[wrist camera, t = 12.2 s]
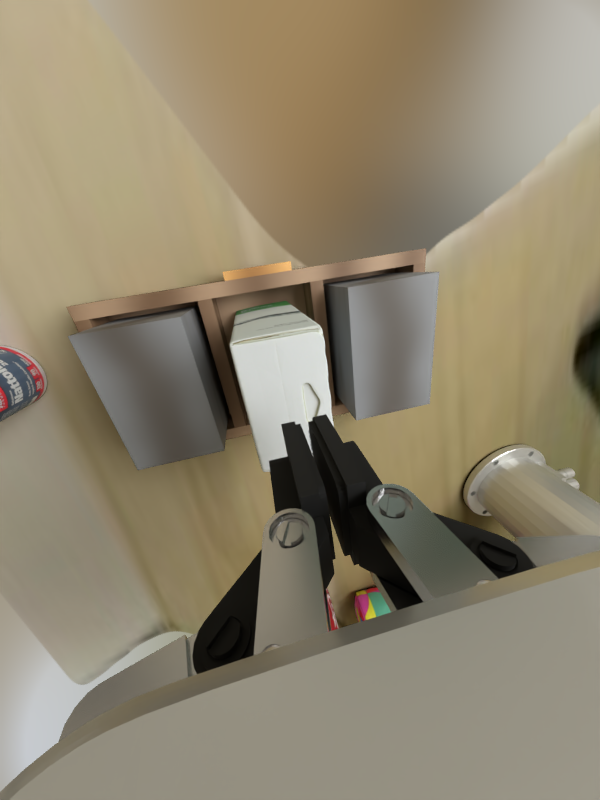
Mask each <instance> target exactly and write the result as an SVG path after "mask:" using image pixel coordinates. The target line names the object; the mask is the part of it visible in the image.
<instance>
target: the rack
mask: <svg viewBox="0 0 600 800" xmlns="http://www.w3.org/2000/svg"><path fill="white" fill-rule="evenodd" d="M425 260H426V248H425V249H418V250H412V251H405V252H399V253H392V254H387V255H380V256H374V257H368V258H361V259H355V260H350V261H344V262H337V263H331V264H325V265H318V266H312V267H306V268H300V269H294V270H292V269H291V262H290V261H289V262H283V263H277V264H270V265H264V266H258V267H251V268H245V269H239V270H233V271H226V272H223V276H224V280H225V281H220V282H214V283H208V284H202V285H195V286H189V287H183V288H177V289H171V290H165V291H159V292H152V293H146V294H140V295H134V296H128V297H122V298H116V299H109V300H103V301H97V302H91V303H86V304H80V305H74V306H69V307H67V309H68V311H69V313H70V315H71V317H72V319H73V321H74V323H75V325H76V327H77V329H78V331H79V333H76V334H73V335H70V336H68V338H69V339H70V341H71V343H72V345H73V347H74V349H75V351H76V353H77V355H78V357H79V359H80V360H81V362H82V364H83V366H84V368H85V370H86V372H87V374H88V376H89V378H90V380H91V382H92V383H93V385H94V387H95V389H96V391H97V393H98V395H99V397H100V399H101V401H102V403H103V404H104V406H105V408H106V410H107V412H108V414H109V416H110V418H111V420H112V422H113V424H114V426H115V427H116V429H117V431H118V433H119V435H120V437H121V439H122V441H123V443H124V445H125V447H126V448H127V450H128V452H129V454H130V456H131V458H132V460H133V462H134V464H135V466H136V468H137V470H141V469H145V468H150V467H154V466H158V465H163V464H167V463H172V462H176V461H180V460H185V459H189V458H193V457H198V456H202V455H207V454H211V453H215V452H220V451H224V450H225V441H226V440H227V439H232V438H236V437H241V436H245V435H250V434H252V431H251V427H250V423H249V419H248V416H247V412H246V408H245V404H244V401H243V397H242V393H241V389H240V386H239V382H238V378H237V374H236V371H235V367H234V363H233V358H232V354H231V350H230V341H231V336H232V331H233V326H234V320H235V315H236V311H239V310H243V309H246V308H250V307H255V306H259V305H264V304H270V303H275V302H281V301H287V302H288V303H289V304H291V305H292V306H294V307H295V308H296V309H298V310H299V311H300V312H302V313H303V314H305V315H306V316H307V317H309V318H310V319H312V320H313V321H314V322H316V323H317V324H319V325H320V327H321V328H322V331H323V337H324V340H325V354H326V359H327V366H328V383H329V389H330V395H331V410H332V416H334V415H339V414H343V413H348V412H350V413H351V414H352V416H353V417H354V418H355V419H356V420H360V419H364V418H369V417H373V416H378V415H382V414H386V413H391V412H395V411H400V410H404V409H408V408H413V407H417V406H421V405H426V404H430V390H431V377H432V363H433V349H434V336H435V322H436V309H437V295H438V282H439V272H425Z"/></svg>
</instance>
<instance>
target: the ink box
mask: <svg viewBox="0 0 600 800" xmlns="http://www.w3.org/2000/svg"><path fill="white" fill-rule="evenodd" d="M230 350H231V354H232V358H233V363H234V367H235V371H236V374H237V378H238V382H239V386H240V389H241V393H242V397H243V401H244V404H245V408H246V412H247V416H248V419H249V423H250V427H251V431H252V435H253V438H254V442H255V446H256V450H257V453H258V457H259V461H260V464H261V468H262V470H263V471H264V472H269V471H270V466H269V461H270V460H274V459H278V458H282V457H287V451H286V446H285V441H284V436H283V431H282V426H281V424H284V423H289V422H293V421H294V422H295V424H301V426H302V429H303V432H304V434H305V437H306V439H307V442H308V445H309V447H310V450H311V453H312V455H313V452H312V445H311V439H310V432H309V426H308V422H310V421H313V420H312V418H313V417H316V416H320V415H325V414H326V415H327V417H328V418H329V420H330V422H331V423H332V425H333V427H334V423H333V418H332V410H331V395H330V389H329V383H328V366H327V359H326V354H325V340H324V337H323V331H322V328H321V327H320V325H319V324H317V323H316V322H314V321H313V320H312V319H310V318H309V317H307V316H306V315H305V314H303V313H302V312H300V311H299V310H298V309H296V308H295V307H294V306H292V305H291V304H289V303H288V302H287V301H281V302H275V303H270V304H264V305H259V306H255V307H250V308H246V309H243V310H239V311H236V315H235V320H234V326H233V331H232V336H231V341H230Z"/></svg>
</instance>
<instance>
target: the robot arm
mask: <svg viewBox="0 0 600 800" xmlns="http://www.w3.org/2000/svg"><path fill="white" fill-rule="evenodd" d="M312 420H313V421H310V422H308V426H309V432H310V439H311V445H312V452H313V455H312V453H311V450H310V447H309V445H308V442H307V439H306V437H305V434H304V432H303V429H302V426H301V424H295V422H294V421H293V422H289V423H284V424H281V426H282V431H283V436H284V441H285V446H286V451H287V457H282V458H278V459H274V460H270V461H269V466H270V474H271V481H272V489H273V496H274V504H275V511H276V514H274V515H273V516H272V517H271V518H270V519H269V520H268V522H267V524H266V525H265V528H264V532H263V543H262V550H261V551H260V552H259V553H258V555H257V556H256V557H255V558H254V560H253V561H252V562H251V564H250V565H249V566H248V567H247V569H246V570H245V571H244V572H243V574H242V575H241V576H240V577H239V579H238V580H237V581H236V582H235V584H234V585H233V586H232V587H231V589H230V590H229V591H228V592H227V594H226V595H225V596H224V598H223V599H222V600H221V601H220V603H219V604H218V605H217V606H216V608H215V609H214V610H213V611H212V613H211V614H210V615H209V616H208V618H207V619H206V620H205V622H204V623H203V625H202V626H201V628H200V630H199V631H198V633H196V634H194V635H192V636H191V637H189V638H187V637H186V636H185V635H184V636H182V637H181V638H179V639H177V640H175V641H173V642H172V643H170V644H168V645H166V646H165V647H163V648H161V649H159V650H158V651H156V652H154V653H152V654H151V655H149V656H147V657H145V658H144V659H142V660H140V661H138V662H137V663H135V664H134V665H132V666H130V667H128V668H126V669H124V670H123V671H121V672H120V673H117V674H116V675H114V676H112V677H110V678H109V679H107V680H105V681H103V682H102V683H100V684H99V685H98V686H96V687H95V688H94V689H92V690H91V691H90V692H88V693H87V695H86V696H85V697H84V698H83V699H82V700H81V701H80V702H79V703H78V705H77V706H76V707H75V708H74V710H73V712H72V714H71V715H70V717H69V718H68V720H67V722H66V723H65V726H64V728H63V731H62V734H61V736H60V739H59V742H58V743H57V744H55V745H54V746H53V747H52V748H50V749H49V750H48V751H46V752H45V753H44V754H43V755H42V756H40V757H39V758H38V759H37V760H35V761H34V762H33V763H32V764H31V765H29V766H28V767H27V768H26V769H24V771H22V772H21V773H20V774H19V775H18V776H17V777H16V778H15V779H13V781H11V782H10V783H9V784H8V785H7V786H6V787H5V788H4V789H3V790H2V791H1V792H0V800H600V504H599V503H598V502H596V501H595V500H593V499H592V498H590V497H588V496H587V495H585V494H584V493H582V492H581V491H579V490H578V489H579V484H578V482H577V481H576V480H575V479H574V478H571V477H574V476H575V472H574V470H572V469H571V468H569V467H568V468H563V469H559V470H558V471H556V470H554V469H552V468H551V467H549V466H548V465H546V463H545V459H544V456H543V455H542V454H541V452H539V451H538V450H536V449H534V448H533V447H531V446H528V445H522V444H520V445H512V446H508V447H505V448H502V449H500V450H497V451H496V452H494V453H492V454H490V455H489V456H488V457H486V458H485V459H484V460H483V461H481V462H480V463H479V464H478V465H477V466H476V467H475V469H474V470H473V471H472V472H471V474H470V476H469V477H468V479H467V481H466V483H465V486H464V491H463V498H464V501H465V503H466V505H467V506H468V507H469V508H470V509H471V510H472V511H473V512H474V513H476V514H478V515H482V516H493V517H494V518H495V519H496V520H497V521H498V522H499V523H500V524H501V525H502V526H503V527H504V528H505V529H506V530H507V531H508V532H509V533H510V534H512V535H513V536H514V537H515V541H510V540H508V539H506V538H504V537H502V536H499V535H497V534H494V533H491V532H488V531H485V530H482V529H479V528H476V527H473V526H471V525H468V524H465V523H462V522H459V521H456V520H453V519H450V518H447V517H444V516H441V515H438V514H435V513H433V512H431V511H430V510H429V509H428V508H427V507H426V506H425V505H424V504H423V503H422V502H421V501H420V500H419V499H418V498H417V497H416V496H415V495H414V494H413V493H412V492H411V491H409V490H408V489H407V488H404V487H402V486H400V485H395V484H382V482H381V481H380V479H379V478H378V476H377V475H376V473H375V472H374V470H373V469H372V467H371V466H370V464H369V463H368V461H367V460H366V458H365V457H364V455H363V454H362V452H361V451H360V449H359V448H358V446H357V445H356V443H355V442H354V441H350V442H346V443H343V442H342V440H341V439H340V437H339V435H338V433H337V432H336V430H335V428H334V427H333V425H332V423H331V422H330V420H329V418H328V417H327V415H326V414H325V415H320V416H316V417H313V418H312ZM329 514H330V515H329ZM330 517H331V520H332V523H333V525H334V528H335V531H336V534H337V537H338V539H339V542H340V545H341V548H342V550H343V553H344V555H345V556H347V555H350V556H351V558H352V561H353V564H354V565H356V564H359V566H361V567H362V568H364V569H366V570H368V571H370V574H371V576H372V579H373V581H374V583H375V584H376V586H377V588H378V590H379V591H380V593H381V595H382V597H383V598H384V600H385V602H386V604H387V605H388V607H389V609H390V611H391V612H390V613H387V614H384V615H381V616H378V617H374V618H371V619H368V620H365V621H362V622H358V623H355V624H352V625H349V626H346V627H342V628H339V629H336V630H333V631H332V629H331V621H330V614H329V606H328V598H327V591H326V588H327V587H328V585H329V583H330V581H331V579H332V577H333V575H334V567H333V559H335V552H334V544H333V537H332V530H331V522H330Z"/></svg>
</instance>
